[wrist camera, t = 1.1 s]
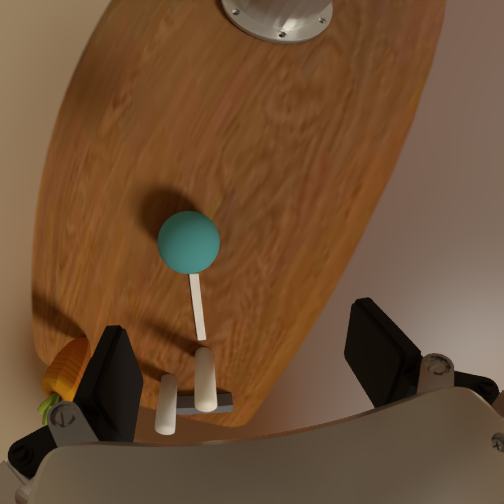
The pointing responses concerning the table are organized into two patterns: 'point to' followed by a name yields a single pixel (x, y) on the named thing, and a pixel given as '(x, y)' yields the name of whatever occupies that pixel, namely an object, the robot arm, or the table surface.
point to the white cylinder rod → (166, 405)
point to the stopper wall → (188, 407)
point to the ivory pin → (205, 380)
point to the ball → (188, 242)
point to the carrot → (65, 374)
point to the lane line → (197, 306)
